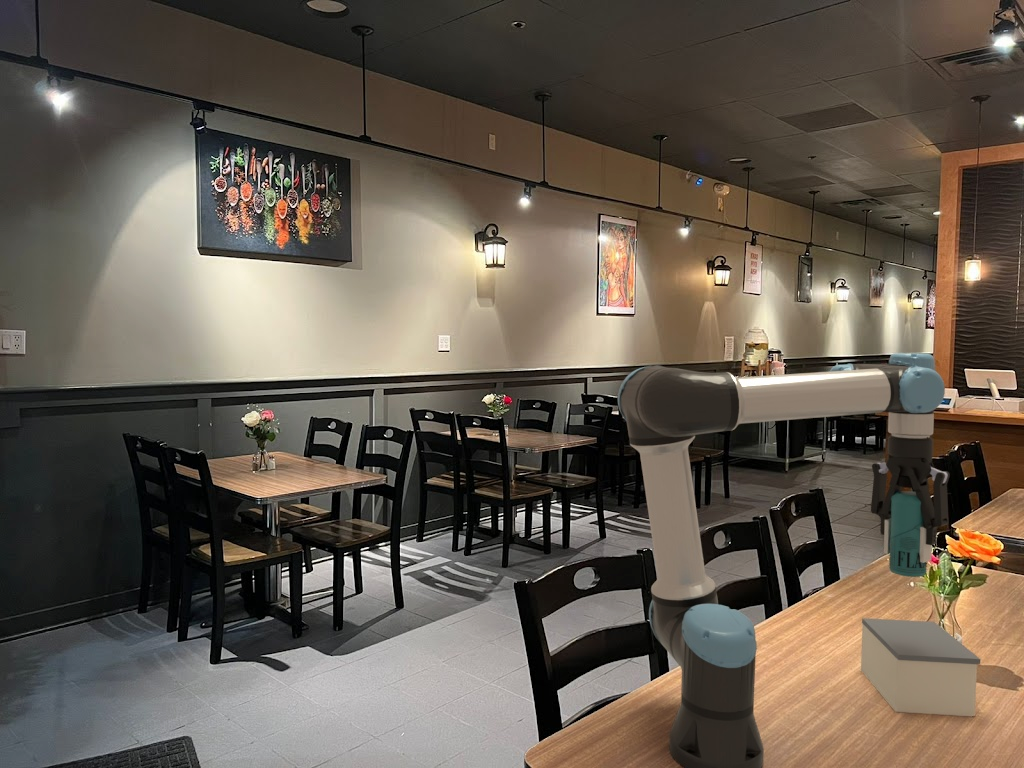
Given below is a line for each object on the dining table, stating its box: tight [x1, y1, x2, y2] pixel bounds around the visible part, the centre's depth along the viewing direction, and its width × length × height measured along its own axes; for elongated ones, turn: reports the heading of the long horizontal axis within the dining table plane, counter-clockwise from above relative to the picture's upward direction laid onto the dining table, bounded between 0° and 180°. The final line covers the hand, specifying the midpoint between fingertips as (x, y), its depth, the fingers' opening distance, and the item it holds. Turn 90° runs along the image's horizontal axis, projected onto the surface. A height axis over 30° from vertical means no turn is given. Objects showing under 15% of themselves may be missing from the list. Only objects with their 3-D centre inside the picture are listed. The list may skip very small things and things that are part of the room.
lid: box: [861, 617, 982, 665], centre depth 147 cm, size 14×19×1 cm
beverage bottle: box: [888, 476, 928, 578], centre depth 141 cm, size 6×7×20 cm
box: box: [860, 623, 978, 717], centre depth 147 cm, size 14×18×10 cm
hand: (907, 556), depth 141 cm, fingers closed on beverage bottle, 6 cm apart
